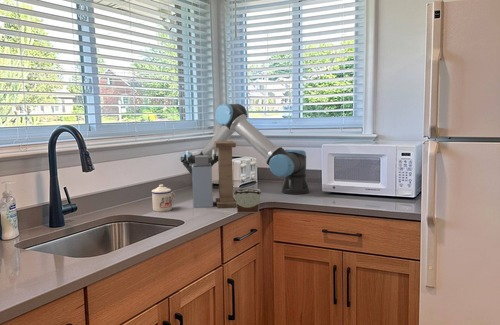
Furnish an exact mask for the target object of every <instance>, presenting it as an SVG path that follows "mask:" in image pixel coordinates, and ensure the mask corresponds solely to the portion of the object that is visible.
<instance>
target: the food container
mask: <svg viewBox="0 0 500 325" xmlns="http://www.w3.org/2000/svg"><path fill="white" fill-rule="evenodd" d="M261 195H262V191H261V189H259V188H255V187H243V188H237V189H234V190H233V196H234V199H235V200H236V206H237V207H236V212H237V214H239V213H240V214H244V213H246V214H249V213H250V214H251V213H252V214H256V213H257V214H259V211H260V210H259V209H260V200H261V199H260V198H261Z"/></svg>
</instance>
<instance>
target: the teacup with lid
mask: <svg viewBox="0 0 500 325" xmlns="http://www.w3.org/2000/svg"><path fill="white" fill-rule="evenodd" d="M151 195H152V196H151V197H152V198H151V199H152V200H151V201H152V210H153V212H159V213H160V212H168V211H171V210H172V209H173V206H172V204H173V202H174V201H175V199H176V196H175V195H176V194H175V192H173V191H172V189H171V188H168V187H166V186H165V185H164V184H159V185H158V187H156V188H154V189H152V190H151Z"/></svg>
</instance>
